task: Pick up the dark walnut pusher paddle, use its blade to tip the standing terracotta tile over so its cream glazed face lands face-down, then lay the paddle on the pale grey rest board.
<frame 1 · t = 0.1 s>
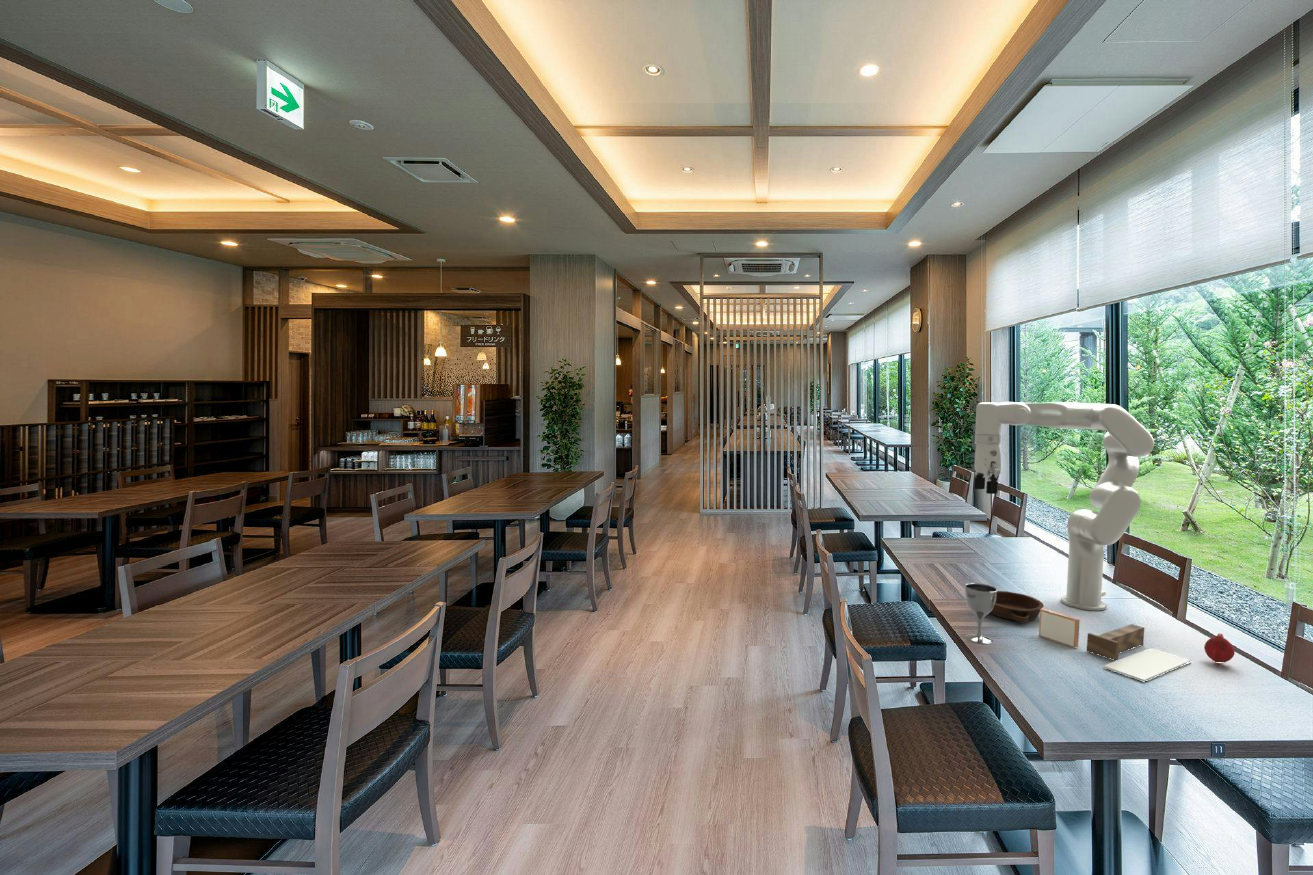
hand: (985, 491, 209), 37 cm above the table, tool pointing down, fingers open, 9 cm apart
onion: (1218, 664, 164), on the table
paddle: (1120, 649, 173), on the table
wine glass: (978, 639, 179), on the table
dish: (1010, 615, 200), on the table
tile: (1058, 641, 178), on the table
rest board: (1147, 665, 162), on the table
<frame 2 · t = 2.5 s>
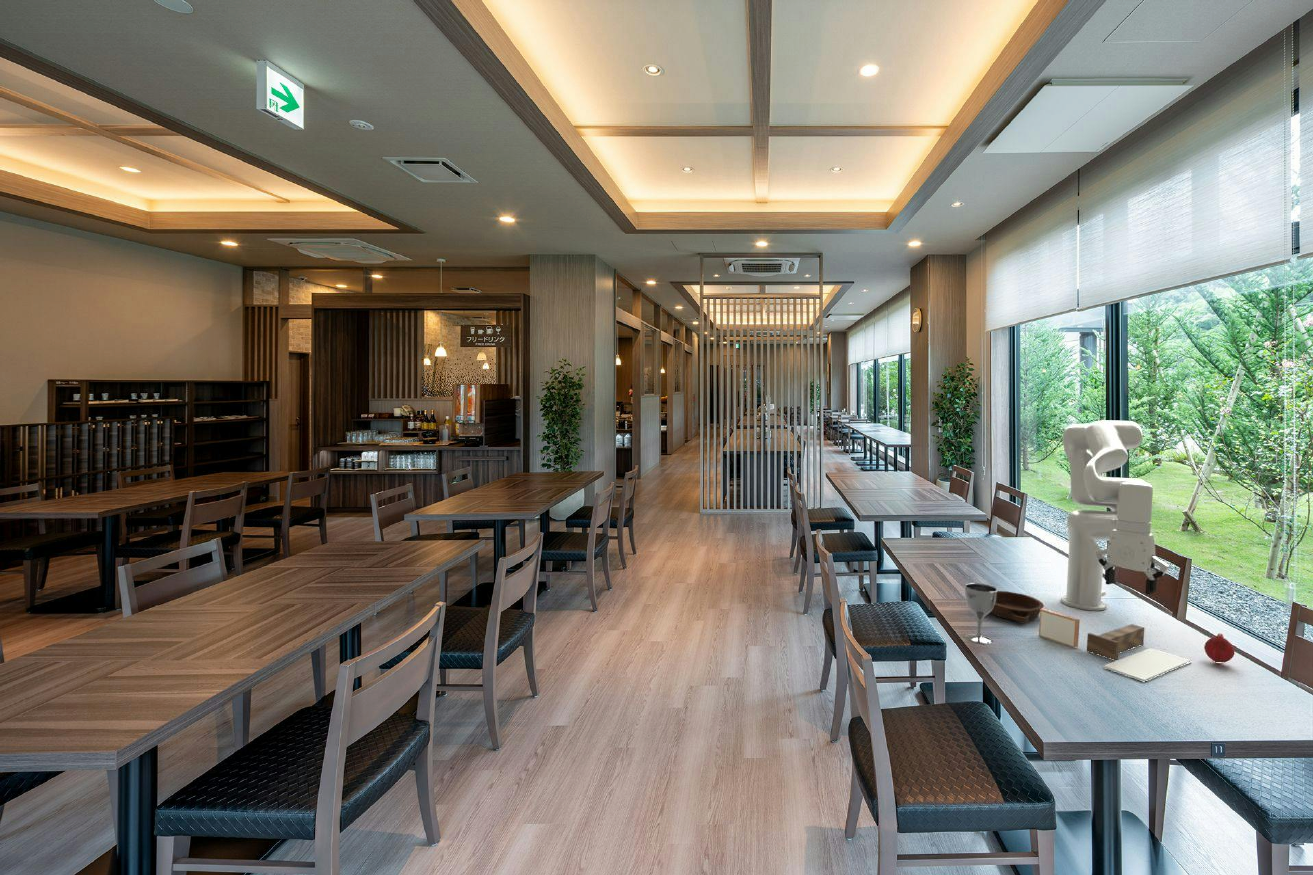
hand: (1129, 588, 173), 16 cm above the table, tool pointing down, fingers open, 9 cm apart
nothing on the table moved.
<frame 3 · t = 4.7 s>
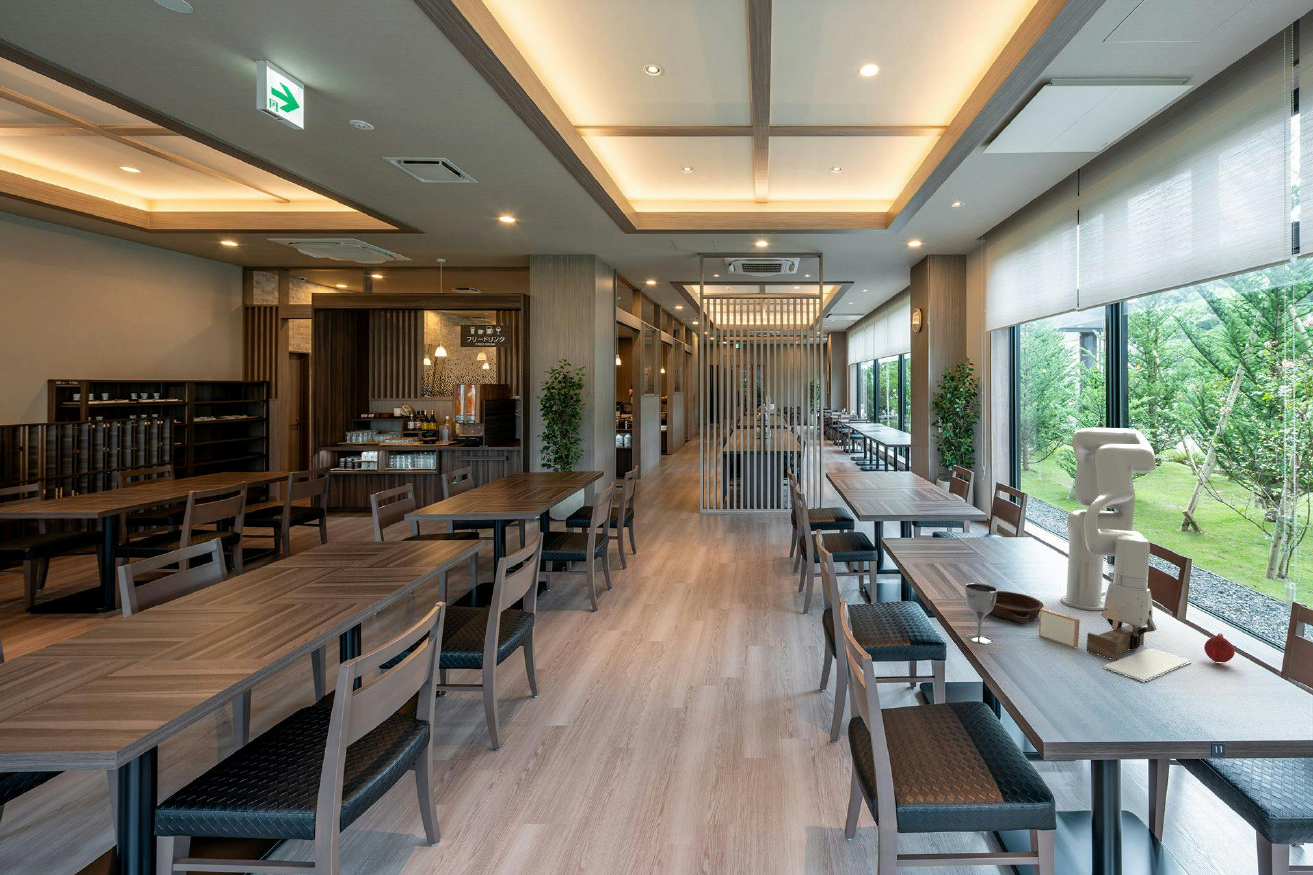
hand: (1126, 645, 174), 0 cm above the table, tool pointing down, fingers closed on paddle, 3 cm apart
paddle: (1120, 648, 173), on the table, touching gripper
everything else where it was.
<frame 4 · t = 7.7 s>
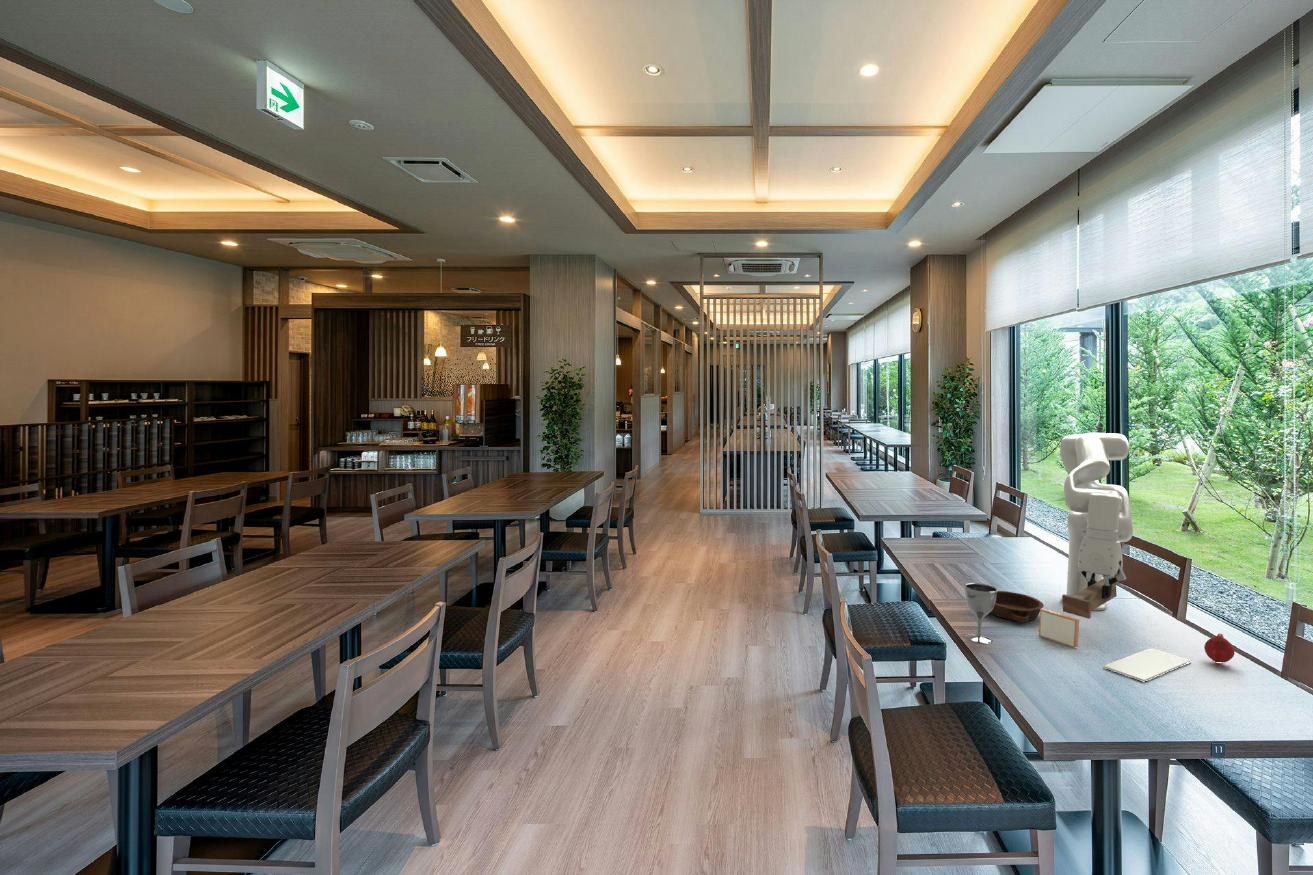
hand: (1098, 595, 186), 10 cm above the table, tool pointing down, fingers closed on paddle, 3 cm apart
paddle: (1094, 604, 185), point 8 cm above the table, tilted 9°, touching gripper
everything else where it was.
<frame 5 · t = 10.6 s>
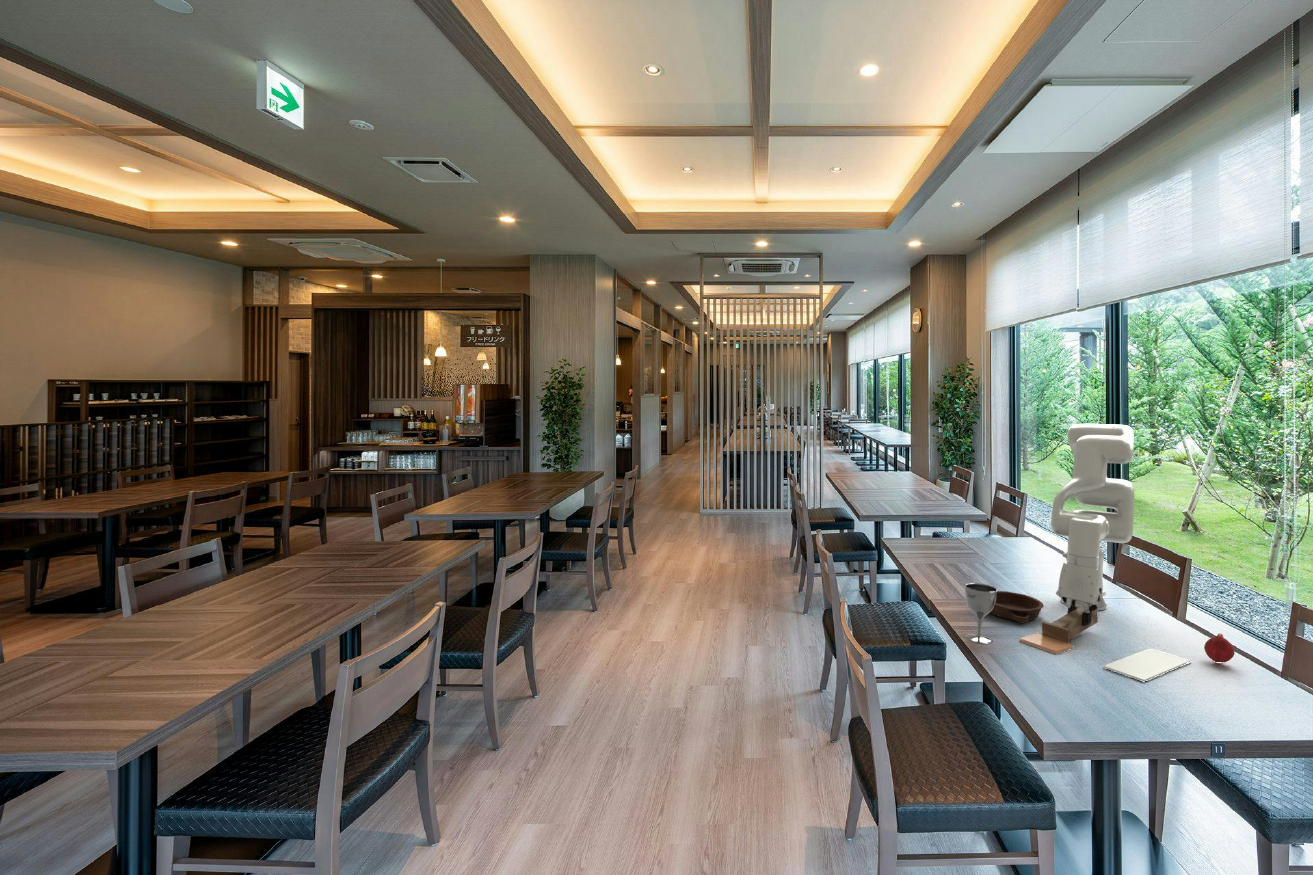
hand: (1079, 622, 182), 4 cm above the table, tool pointing down, fingers closed on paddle, 3 cm apart
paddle: (1075, 630, 181), point 2 cm above the table, tilted 10°, touching gripper
tile: (1054, 640, 177), on the table, tilted 90°
everything else where it was.
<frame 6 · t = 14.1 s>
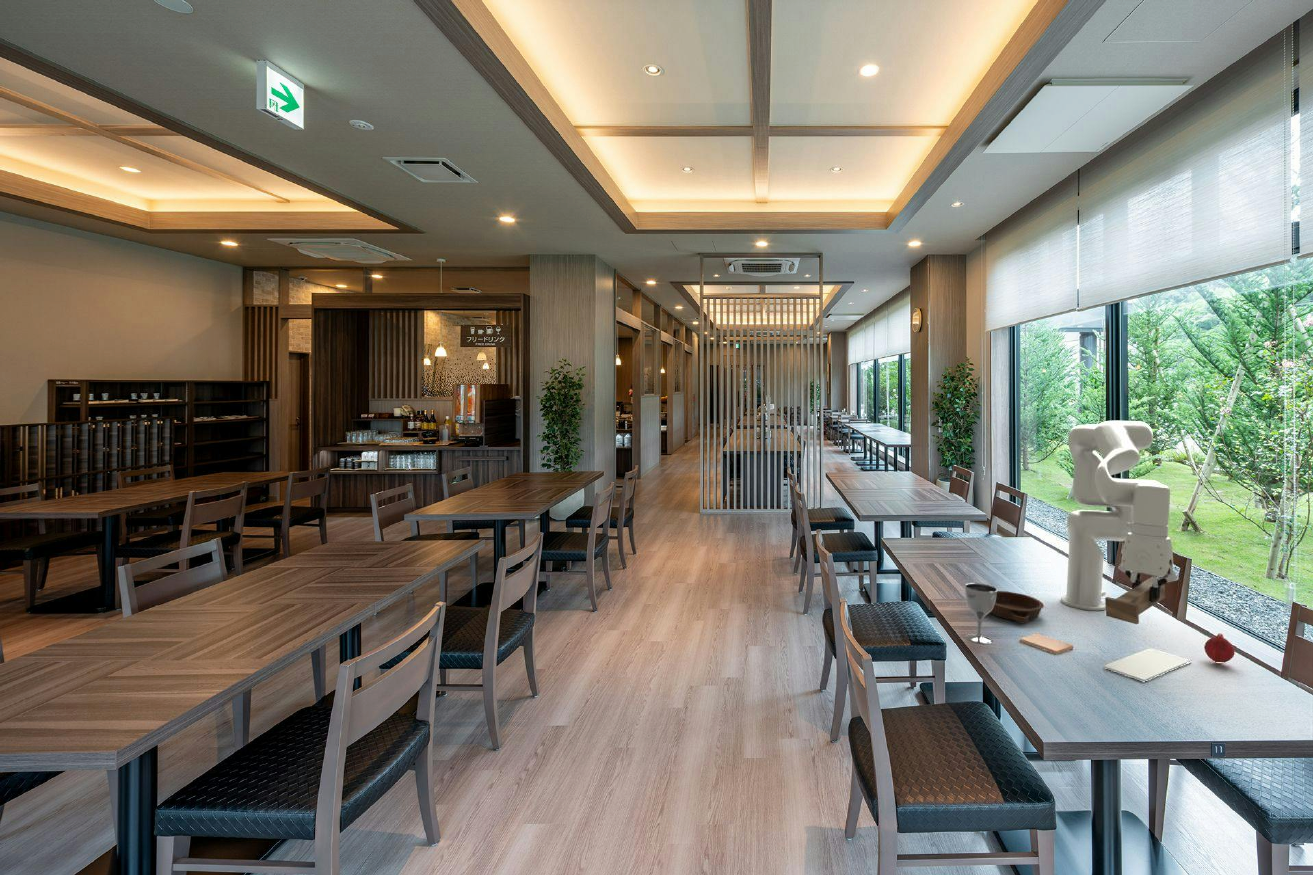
hand: (1145, 598, 166), 16 cm above the table, tool pointing down, fingers closed on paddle, 3 cm apart
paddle: (1141, 607, 166), point 14 cm above the table, tilted 11°, touching gripper
everything else where it was.
when the fingers open (3 cm above the table, at t = 17.1 s): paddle stays where it is, resting on rest board.
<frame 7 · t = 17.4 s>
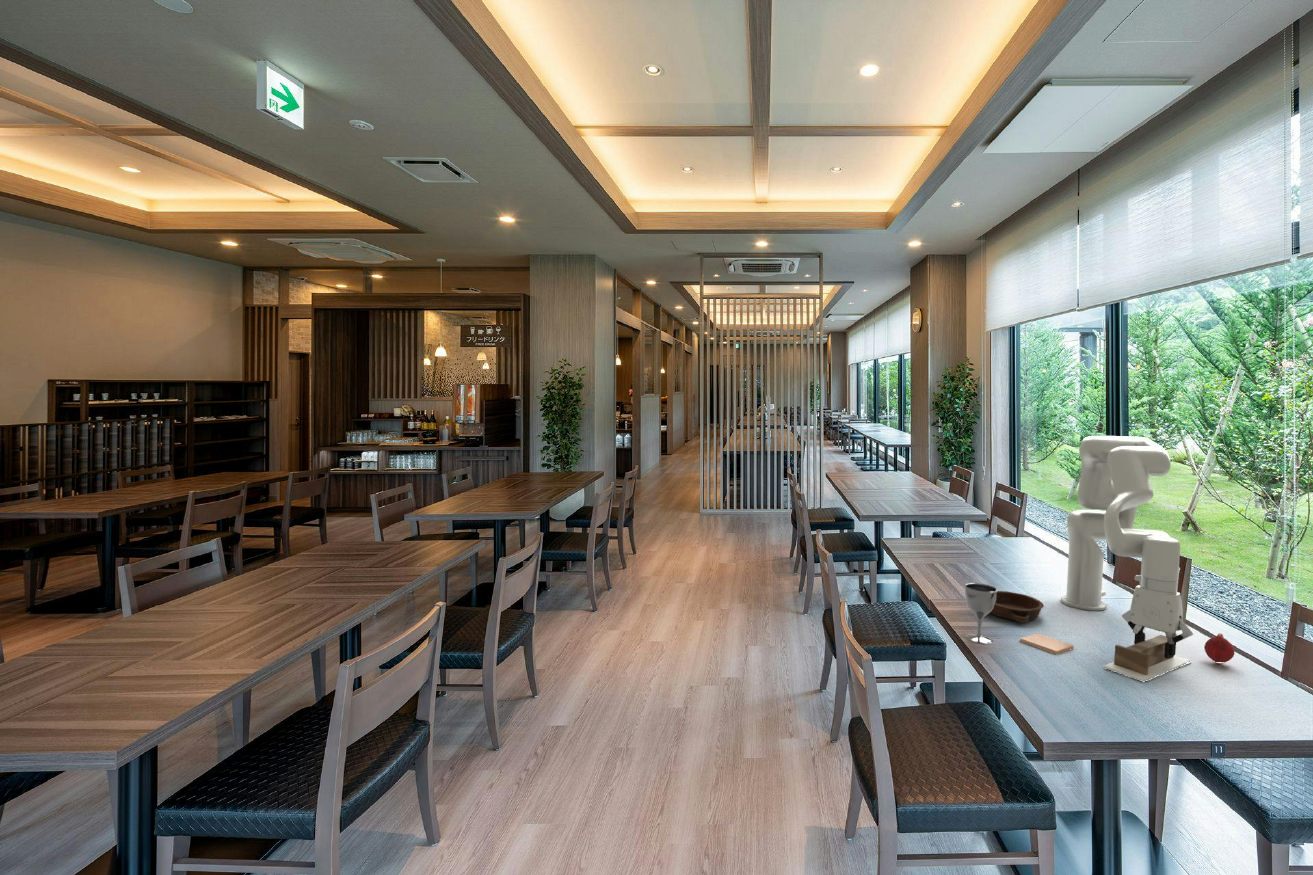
hand: (1154, 652, 163), 3 cm above the table, tool pointing down, fingers open, 5 cm apart
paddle: (1149, 661, 163), point 1 cm above the table, touching rest board
everything else where it was.
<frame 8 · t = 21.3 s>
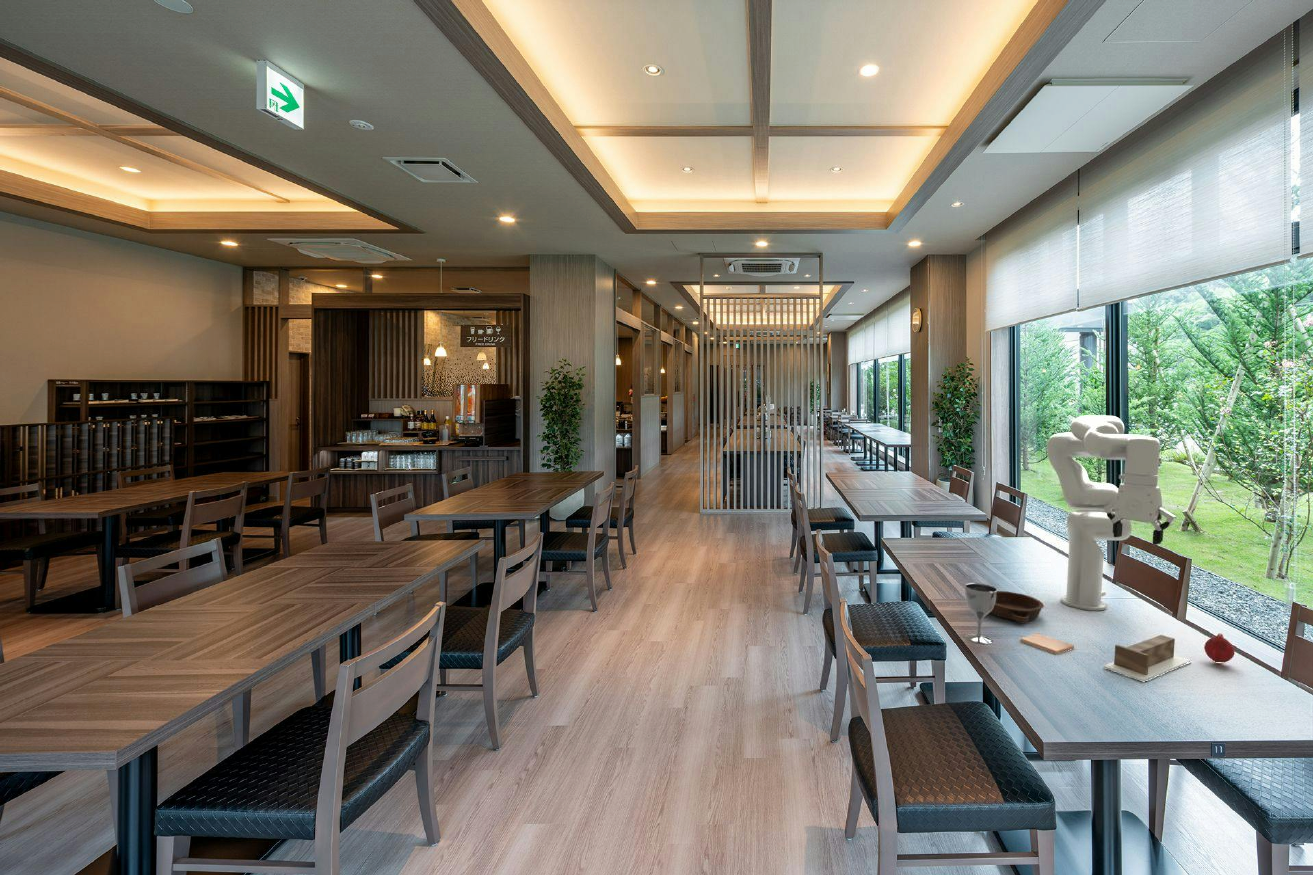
hand: (1136, 540, 179), 28 cm above the table, tool pointing down, fingers open, 9 cm apart
nothing on the table moved.
at the end: tile tilted 90°; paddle inside the target area (1.2 cm from its centre), point 0.8 cm above the table; the gripper is holding nothing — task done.
